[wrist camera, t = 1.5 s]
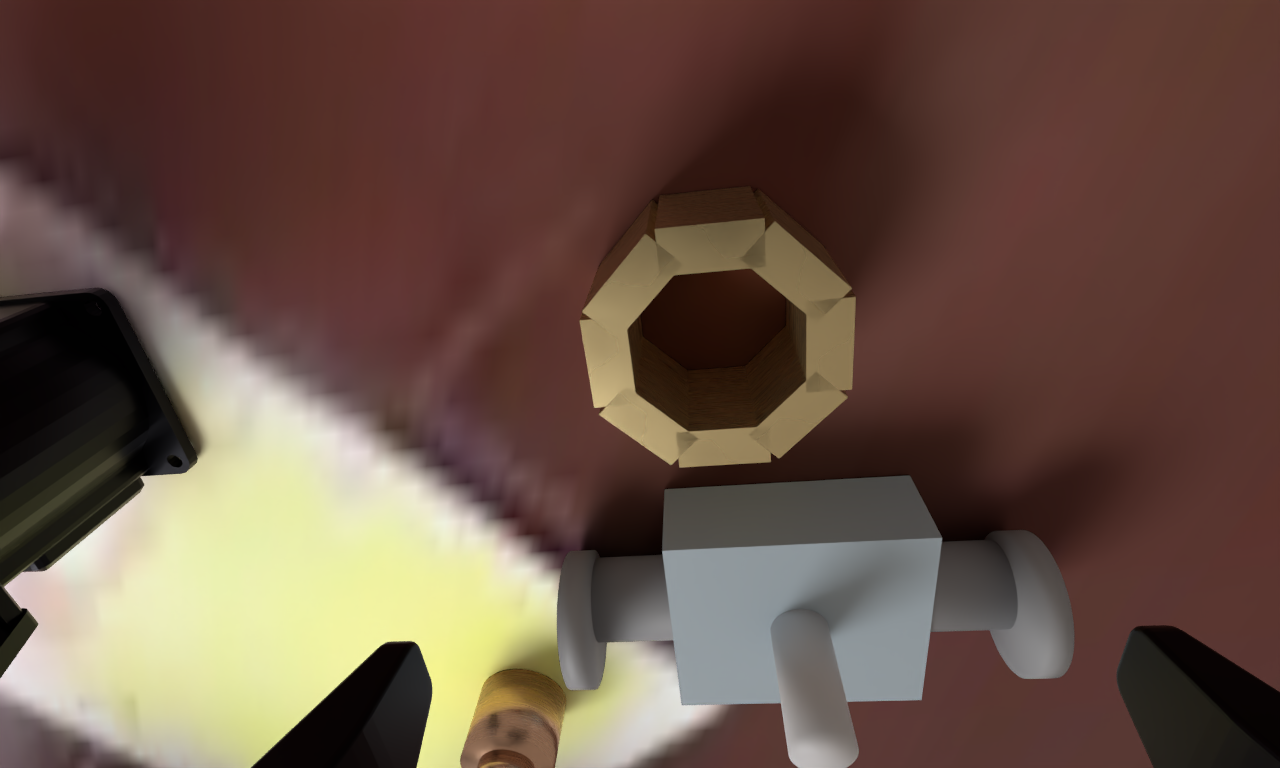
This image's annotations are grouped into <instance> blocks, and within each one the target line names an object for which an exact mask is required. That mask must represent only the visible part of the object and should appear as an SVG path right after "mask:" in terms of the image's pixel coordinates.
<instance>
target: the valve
mask: <svg viewBox="0 0 1280 768" xmlns="http://www.w3.org/2000/svg"><path fill="white" fill-rule="evenodd" d="M662 554H663V555H645V556H624V557H602V558H600V557H599V554H598V553H597V551H596V550H585V551H570V552H569V553H568V554H567V555H566V558H565V560H564V563H563V566H562V570H561V575H560V582H559V590H558V602H557V641H558V653H559V661H560V667H561V672H562V676H563V679H564V682H565V684H566V686H567V688H568V689H569V690H596V689H598V687H599V686H600V683H601V680H602V677H603V672H604V666H605V658H606V646H607V642H633V641H663V640H674V648H675V656H676V664H677V671H678V679H679V687H680V695H681V703H682V705H714V704H760V703H781V707H782V714H783V720H784V727H785V734H786V741H787V747H788V754H789V758H790V760H791V761H792V762H793V764H795V765H796V766H797V767H799V768H846V767H848V766H850V765H851V764H852V763H853V762H854V761H855V760H856V759H857V757H858V753H859V748H858V744H857V740H856V736H855V732H854V728H853V724H852V720H851V716H850V712H849V708H848V704H847V702H851V701H897V700H921V699H922V691H923V684H924V676H925V668H926V660H927V653H928V645H929V637H930V632H942V631H973V630H990V632H991V635H992V638H993V640H994V642H995V645H996V647H997V649H998V651H999V653H1000V654H1001V656H1002V658H1003V660H1004V661H1005V663H1006V664H1007V665H1008V667H1009V668H1010V669H1011V670H1012V671H1013V672H1014V673H1015V674H1016V675H1018V676H1019V677H1021V678H1025V679H1041V678H1059V677H1061V676H1063V675H1064V674H1065V673H1066V672H1067V670H1068V668H1069V666H1070V664H1071V661H1072V657H1073V651H1074V623H1073V616H1072V610H1071V605H1070V600H1069V596H1068V593H1067V589H1066V586H1065V583H1064V580H1063V578H1062V575H1061V573H1060V570H1059V568H1058V566H1057V564H1056V562H1055V560H1054V558H1053V556H1052V555H1051V553H1050V552H1049V550H1048V549H1047V547H1046V546H1045V545H1044V543H1043V542H1042V541H1041V540H1040V539H1039V538H1038V537H1037V536H1036V535H1034V534H1033V533H1031V532H1029V531H1027V530H1007V531H993V532H991V533H989V534H988V535H987V536H986V538H985V540H971V541H949V542H942V536H941V534H940V532H939V530H938V528H937V526H936V525H935V523H934V521H933V519H932V517H931V515H930V513H929V511H928V509H927V507H926V505H925V503H924V502H923V500H922V498H921V496H920V494H919V492H918V490H917V488H916V486H915V484H914V482H913V480H912V478H911V477H910V475H907V476H889V477H872V478H854V479H836V480H819V481H801V482H783V483H766V484H748V485H730V486H713V487H695V488H677V489H665V491H664V516H663V540H662Z"/></svg>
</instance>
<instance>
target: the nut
mask: <svg viewBox="0 0 1280 768" xmlns="http://www.w3.org/2000/svg"><path fill="white" fill-rule="evenodd" d="M749 268H751V269H753V270H754V271H755V272H756V273H757V274H759V275H760V276H761V277H762V278H763V279H765V280H766V281H767V282H768V283H769V284H770V285H772V286H773V287H774V288H775V289H776V290H778V291H779V292H780V293H781V294H782V295H784V296H785V297H786V326H785V327H784V328H783V329H782V330H781V331H780V332H779V333H778V334H777V335H776V336H775V337H774V338H773V339H772V340H771V341H770V342H769V343H768V344H767V345H766V346H765V347H764V348H763V349H762V350H761V351H760V352H759V353H758V354H757V355H756V356H755V357H754V358H753V359H752V360H751V361H750V362H749V363H748V364H747V365H746V366H742V367H729V368H715V369H702V370H689V371H688V370H686V369H685V368H684V367H682V366H681V365H680V364H678V363H677V362H676V361H674V360H673V359H672V358H670V357H669V356H668V355H666V354H665V353H664V352H662V351H661V350H660V349H658V348H657V347H656V346H654V345H653V344H652V343H650V342H649V341H648V340H647V339H645V338H644V337H643V332H642V323H641V315H640V314H641V313H642V312H643V310H644V309H645V308H646V307H647V306H648V305H649V304H650V302H651V301H652V300H653V299H654V298H655V297H656V295H657V294H658V293H659V292H660V291H661V290H662V289H663V287H664V286H665V285H666V284H667V283H668V282H669V280H670V279H671V278H672V277H673V276H674V275H683V274H694V273H705V272H716V271H727V270H738V269H749ZM851 289H852V287H851V286H850V284H849V283H848V282H847V280H846V279H845V277H844V276H843V274H842V273H841V271H840V270H839V268H838V267H837V265H836V264H835V262H834V261H833V259H832V258H831V256H830V255H829V254H828V252H827V251H826V249H825V248H824V246H823V245H822V244H821V243H820V242H819V241H817V240H816V239H815V238H814V237H813V236H812V235H811V234H809V233H808V232H807V231H806V230H805V229H804V228H803V227H802V226H800V225H799V224H798V223H797V222H796V221H795V220H794V219H792V218H791V217H790V216H789V215H788V214H787V213H786V212H784V211H783V210H782V209H781V208H780V207H779V206H778V205H776V204H775V203H774V202H773V201H772V200H771V199H770V198H769V197H767V196H766V195H765V194H764V193H763V192H762V191H761V190H759V189H757V191H756V192H755V193H754V194H753V191H752V189H751V187H750V186H745V187H735V188H726V189H716V190H706V191H697V192H687V193H677V194H668V195H660V196H659V203H658V204H657V203H656V202H654V201H653V200H651V201H650V203H649V204H648V205H647V206H646V208H645V209H644V210H643V211H642V213H641V214H640V215H639V216H638V218H637V219H636V220H635V221H634V223H633V224H632V225H631V226H630V228H629V229H628V230H627V231H626V233H625V234H624V235H623V236H622V238H621V239H620V240H619V241H618V243H617V244H616V245H615V247H614V248H613V249H612V250H611V252H610V253H609V254H608V255H607V257H606V258H605V259H604V260H603V262H602V263H601V264H600V265H599V267H598V270H597V272H596V275H595V278H594V280H593V283H592V286H591V289H590V291H589V294H588V297H587V299H586V302H585V305H584V307H583V310H582V312H583V313H582V315H581V318H580V326H581V331H582V337H583V343H584V349H585V355H586V361H587V367H588V373H589V379H590V385H591V391H592V397H593V403H594V408H597V407H601V408H600V412H599V415H600V416H602V417H603V418H604V419H606V420H607V421H609V422H610V423H612V424H613V425H614V426H616V427H617V428H619V429H620V430H621V431H623V432H624V433H626V434H627V435H629V436H630V437H631V438H633V439H634V440H636V441H637V442H639V443H640V444H641V445H643V446H644V447H646V448H647V449H649V450H650V451H651V452H653V453H654V454H656V455H657V456H659V457H660V458H661V459H663V460H664V461H666V462H667V463H669V464H670V465H672V464H673V463H674V462H675V461H676V460H677V459H679V468H680V467H697V466H713V465H730V464H747V463H763V462H771V453H772V454H773V455H775V456H776V457H777V458H781V457H782V456H783V455H784V454H785V453H786V452H787V451H788V450H790V449H791V448H792V447H793V446H794V445H795V444H796V443H797V442H799V441H800V440H801V439H802V438H803V437H804V436H805V435H806V434H807V433H809V432H810V431H811V430H812V429H813V428H814V427H815V426H816V425H818V424H819V423H820V422H821V421H822V420H823V419H824V418H825V417H827V416H828V415H829V414H830V413H831V412H832V411H833V410H834V409H836V408H837V407H838V406H839V405H840V404H841V403H842V402H843V401H845V400H846V399H847V398H848V396H847V394H846V392H845V390H852V378H853V353H854V329H855V305H856V297H855V295H854V294H853V292H852V291H851Z"/></svg>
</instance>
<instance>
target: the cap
mask: <svg viewBox="0 0 1280 768" xmlns="http://www.w3.org/2000/svg"><path fill="white" fill-rule="evenodd" d="M565 706H566V697H565V694H564V692H563V690H562V689H561V688H560V686H559V685H558V684H557V683H556V682H555V681H553V680H552V679H550V678H549V677H547V676H545V675H543V674H540V673H538V672H534V671H530V670H524V669H510V670H504V671H501V672H498V673H496V674H494V675H492V676H491V677H489V678H488V679H487V680H486V681H485V683H484V685H483V687H482V690H481V693H480V697H479V700H478V703H477V706H476V710H475V713H474V716H473V719H472V722H471V726H470V729H469V732H468V735H467V739H466V742H465V745H464V748H463V752H462V755H461V759H460V762H461V767H462V768H555V763H556V757H557V751H558V746H559V740H560V734H561V729H562V723H563V718H564V712H565Z"/></svg>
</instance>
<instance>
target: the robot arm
mask: <svg viewBox="0 0 1280 768" xmlns="http://www.w3.org/2000/svg"><path fill="white" fill-rule="evenodd" d="M95 302H96V303H98V304H99V306H100V307H101V309H102V310H101V309H100V308H99V307H98V306H97V305H96V303H95ZM178 457H179V458H180V459H179V458H178ZM197 459H198V458H197V454H196V452H195V450H194V448H193V446H192V444H191V442H190V440H189V438H188V437H187V435H186V433H185V431H184V429H183V427H182V425H181V423H180V421H179V419H178V417H177V415H176V413H175V411H174V409H173V407H172V405H171V403H170V401H169V399H168V397H167V395H166V394H165V392H164V390H163V388H162V386H161V384H160V382H159V380H158V378H157V376H156V374H155V372H154V370H153V368H152V366H151V364H150V362H149V360H148V358H147V356H146V354H145V353H144V351H143V349H142V347H141V345H140V343H139V341H138V339H137V337H136V335H135V333H134V331H133V329H132V327H131V325H130V323H129V321H128V319H127V317H126V315H125V313H124V311H123V310H122V308H121V306H120V304H119V302H118V300H117V299H116V298H115V296H114V295H112V294H111V293H110V292H109V291H106V290H104V289H102V288H89V289H79V290H69V291H59V292H48V293H38V294H28V295H18V296H7V297H0V678H1V677H2V675H3V674H4V672H5V671H6V669H7V668H8V667H9V665H10V664H11V662H12V661H13V660H14V658H15V657H16V655H17V654H18V653H19V651H20V650H21V648H22V647H23V646H24V644H25V643H26V641H27V640H28V639H29V637H30V636H31V634H32V633H33V632H34V630H35V629H36V627H37V626H38V622H37V621H36V620H35V619H34V617H33V616H32V615H31V614H30V612H29V611H28V610H27V609H25V608H22V609H21V608H20V607H19V606H18V604H17V603H16V602H15V601H14V599H13V598H12V597H11V596H10V594H9V593H8V592H7V591H6V589H5V588H4V586H5V585H7V584H8V583H9V582H10V581H12V580H13V579H14V578H15V577H16V576H18V575H19V574H20V573H21V572H36V571H45V570H47V569H49V568H50V567H51V566H52V565H54V564H55V563H56V562H57V561H58V560H59V559H61V558H62V557H63V556H64V555H65V554H67V553H68V552H69V551H70V550H71V549H73V548H74V547H75V546H76V545H77V544H79V543H80V542H81V541H82V540H83V539H85V538H86V537H87V536H88V535H89V534H91V533H92V532H93V531H94V530H95V529H97V528H98V527H99V526H100V525H101V524H103V523H104V522H105V521H106V520H107V519H109V518H110V517H111V516H112V515H113V514H115V513H116V512H117V511H118V510H119V509H121V508H122V507H123V506H124V505H125V504H127V503H128V502H129V501H130V500H131V499H133V498H134V497H135V496H136V495H137V494H139V493H140V491H141V490H142V488H143V486H144V483H143V481H142V479H141V478H140V477H141V476H150V475H166V474H181V473H185V472H187V471H188V470H189V469H190V468H191V467H193V466H194V465H195V464H196V463H197ZM1117 684H1118V688H1119V691H1120V694H1121V696H1122V698H1123V700H1124V703H1125V705H1126V707H1127V709H1128V711H1129V714H1130V716H1131V718H1132V720H1133V723H1134V725H1135V727H1136V729H1137V732H1138V734H1139V736H1140V738H1141V740H1142V743H1143V745H1144V747H1145V749H1146V752H1147V754H1148V756H1149V758H1150V761H1151V763H1152V765H1153V767H1154V768H1280V692H1279V691H1277V690H1276V689H1274V688H1273V687H1271V686H1269V685H1268V684H1266V683H1265V682H1263V681H1261V680H1260V679H1258V678H1257V677H1255V676H1254V675H1252V674H1250V673H1249V672H1247V671H1246V670H1244V669H1242V668H1241V667H1239V666H1238V665H1236V664H1235V663H1233V662H1231V661H1230V660H1228V659H1227V658H1225V657H1224V656H1222V655H1220V654H1219V653H1217V652H1216V651H1214V650H1212V649H1211V648H1209V647H1208V646H1206V645H1205V644H1203V643H1201V642H1200V641H1198V640H1197V639H1195V638H1193V637H1192V636H1190V635H1189V634H1187V633H1186V632H1184V631H1182V630H1180V629H1178V628H1176V627H1173V626H1166V625H1160V626H1138V627H1136V628H1134V629H1133V630H1132V631H1131V633H1130V635H1129V638H1128V640H1127V643H1126V646H1125V649H1124V652H1123V654H1122V657H1121V660H1120V663H1119V666H1118V669H1117ZM431 699H432V682H431V679H430V676H429V673H428V670H427V667H426V665H425V662H424V659H423V656H422V654H421V651H420V648H419V646H418V645H417V644H416V643H415V642H412V641H399V642H387V643H385V644H383V645H381V646H380V647H379V648H378V649H377V650H376V651H374V652H373V653H372V654H371V655H370V656H369V657H368V658H367V659H366V660H365V661H364V662H363V663H362V664H361V665H360V666H359V667H357V668H356V669H355V670H354V671H353V672H352V673H351V674H350V675H349V676H348V677H347V678H346V679H345V680H344V681H343V682H341V683H340V684H339V685H338V686H337V687H336V688H335V689H334V690H333V691H332V692H331V693H330V694H329V695H328V696H327V697H326V698H324V699H323V700H322V701H321V702H320V703H319V704H318V705H317V706H316V707H315V708H314V709H313V710H312V711H311V712H310V713H308V714H307V715H306V716H305V717H304V718H303V719H302V720H301V721H300V722H299V723H298V724H297V725H296V726H295V727H294V728H293V729H291V730H290V731H289V732H288V733H287V734H286V735H285V736H284V737H283V738H282V739H281V740H280V741H279V742H278V743H277V744H275V745H274V746H273V747H272V748H271V749H270V750H269V751H268V752H267V753H266V754H265V755H264V756H263V757H262V758H261V759H260V760H258V761H257V762H256V763H255V764H254V765H253V766H252V767H251V768H416V767H417V763H418V758H419V754H420V749H421V745H422V740H423V736H424V731H425V727H426V722H427V718H428V713H429V709H430V704H431Z"/></svg>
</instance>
